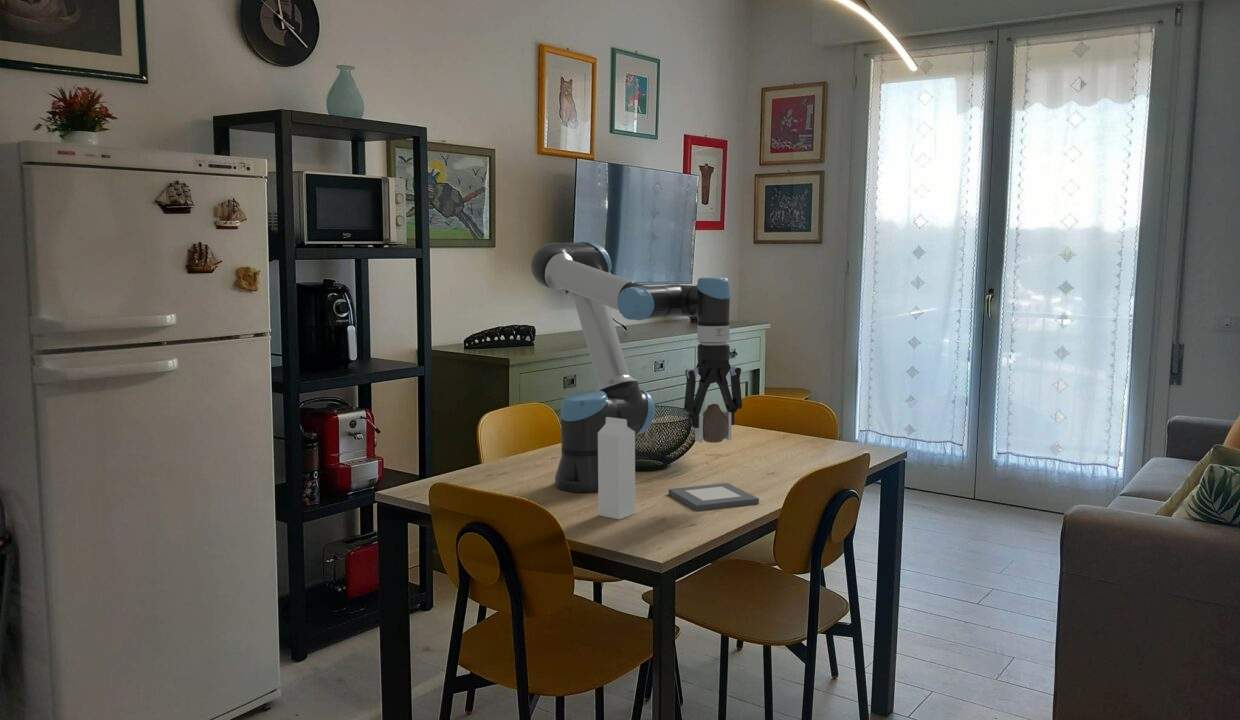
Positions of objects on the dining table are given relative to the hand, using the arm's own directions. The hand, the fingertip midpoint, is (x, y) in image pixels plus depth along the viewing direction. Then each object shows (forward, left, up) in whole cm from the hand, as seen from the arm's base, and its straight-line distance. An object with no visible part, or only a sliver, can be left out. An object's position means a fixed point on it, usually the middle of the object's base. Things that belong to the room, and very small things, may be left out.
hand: (713, 439), depth 223 cm
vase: (0, 0, -1) cm, 1 cm away
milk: (-26, -4, -14) cm, 30 cm away
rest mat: (0, 0, -14) cm, 14 cm away
